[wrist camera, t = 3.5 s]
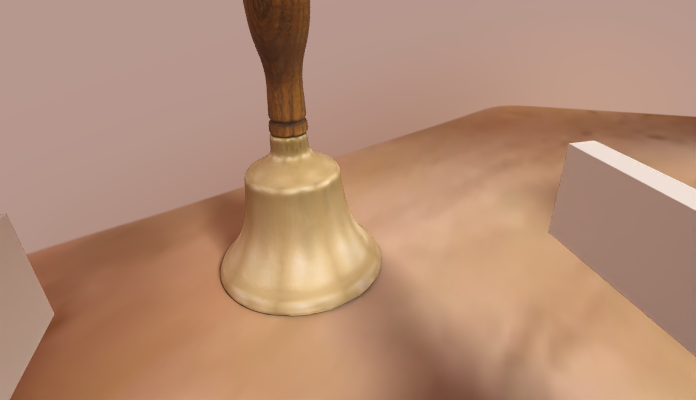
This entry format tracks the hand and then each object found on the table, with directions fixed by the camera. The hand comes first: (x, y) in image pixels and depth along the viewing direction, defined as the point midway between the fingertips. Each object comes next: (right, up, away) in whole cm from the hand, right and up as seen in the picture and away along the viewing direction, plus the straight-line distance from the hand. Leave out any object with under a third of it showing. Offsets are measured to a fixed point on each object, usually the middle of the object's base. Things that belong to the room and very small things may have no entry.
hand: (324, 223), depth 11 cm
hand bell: (-2, -3, +12) cm, 13 cm away
